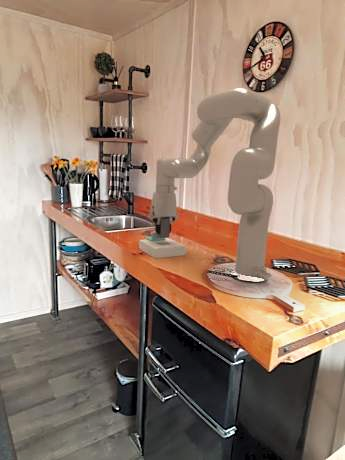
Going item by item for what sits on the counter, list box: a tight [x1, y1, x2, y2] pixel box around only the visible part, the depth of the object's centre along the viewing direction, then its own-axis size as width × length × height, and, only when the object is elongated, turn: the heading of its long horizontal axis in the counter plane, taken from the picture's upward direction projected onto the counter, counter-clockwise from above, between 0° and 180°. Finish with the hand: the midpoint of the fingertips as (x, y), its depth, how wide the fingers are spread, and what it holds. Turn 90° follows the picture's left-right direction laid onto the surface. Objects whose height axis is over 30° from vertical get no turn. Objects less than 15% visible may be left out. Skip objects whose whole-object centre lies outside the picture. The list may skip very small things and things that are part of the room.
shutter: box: [144, 231, 166, 241], centre depth 142 cm, size 7×7×4 cm
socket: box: [138, 237, 187, 259], centre depth 137 cm, size 16×14×4 cm
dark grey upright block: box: [157, 217, 171, 239], centre depth 135 cm, size 4×4×8 cm
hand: (163, 232), depth 135 cm, fingers closed on dark grey upright block, 4 cm apart
